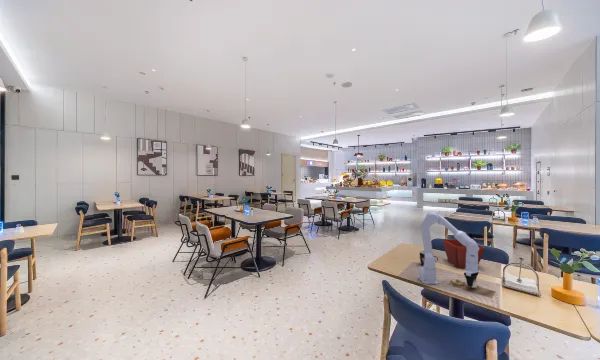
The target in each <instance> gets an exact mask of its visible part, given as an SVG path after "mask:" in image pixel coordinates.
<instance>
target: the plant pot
mask: <svg viewBox="0 0 600 360" xmlns="http://www.w3.org/2000/svg"><path fill="white" fill-rule="evenodd" d="M442 241H443V247H444V251H445V255H446V258H447V261H448V263H450V264H451V265H453V266H454V267H456V268H457V269H465V268H466V252H467V248H466V246H464V245H463V244H461V243H460V242H459V241H458V240H457V239H446V238H444V239H442ZM478 247H479V251H478V265H480V262H481V260H482V257H483V254H484V250H485V247H484V246H482V245H480V244H478Z"/></svg>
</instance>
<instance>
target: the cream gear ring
mask: <svg viewBox="0 0 600 360" xmlns="http://www.w3.org/2000/svg"><path fill="white" fill-rule="evenodd" d="M465 283H466V285H467V281H466V280H465ZM467 286H468V285H467ZM477 286H478V280H477V279H476V280H475V279H474V282H473V286H472V287H475V288H476V287H477ZM469 287H470V286H469Z"/></svg>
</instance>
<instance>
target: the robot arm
mask: <svg viewBox="0 0 600 360" xmlns="http://www.w3.org/2000/svg"><path fill="white" fill-rule="evenodd" d="M435 224H437V225H441V226H444V228H446V229H447V230H448V231H449V232H450V233H452V234H453V237H454V239H455V240H458V241H459V242H460V243H461V244H463V245H464V246H466V248H467V252H466V268H464V269H465V272H463V276H464V278H465V282H466V281H467V285H468V286H470V287H472V286H473V282H474V279H475V280H476V281H477V277H478V275H479V273H481V270H479V264H478V251H479V247H478V245H479V244H478V243H477V242H476V240H474V239H473V238H471V237H470V236H469V235H467V232H465V231H463V230H458V229H457V228H456V227H455V226H454V225H453V224H452V223H450V222H449V221H448V220H447V219H446V218H445V217H443V216H442V215H441V214H439V212H436V211H433V210H432V211H429V212H428V213H426V214H425V217H424V218H423V220H422V222H421V224H420V229H421V236H422V238H421V239H422V243H423V251H424V252H425V261H424V265H423V266H419V268H418V277H417V279H418V280H420V282H421V283H423V284H424V285H426V284H429V285H440V283H439V281H437V266H436V263H437V262H436V261H437V258H436V257H434V256H435V255H434V252H433V244H432V238H431V231H430V228H431V227H432V225H435Z"/></svg>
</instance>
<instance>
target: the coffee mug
mask: <svg viewBox="0 0 600 360" xmlns="http://www.w3.org/2000/svg"><path fill="white" fill-rule="evenodd" d="M434 257H435V259H436V262H435V263H437V262H438V261H439V257H438V256H437V255H434ZM419 261H420V267H423V265H424V261H425V252H424V250H419Z"/></svg>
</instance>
